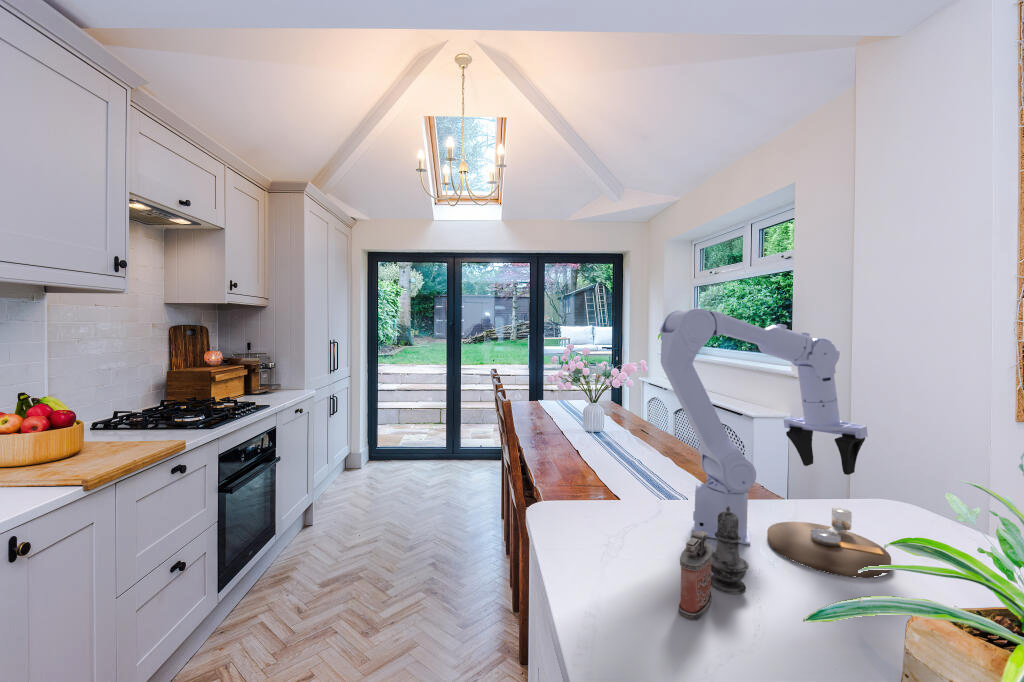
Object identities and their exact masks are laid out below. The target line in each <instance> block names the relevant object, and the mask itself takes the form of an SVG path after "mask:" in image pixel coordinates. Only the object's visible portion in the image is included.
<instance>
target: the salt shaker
mask: <svg viewBox="0 0 1024 682" xmlns="http://www.w3.org/2000/svg"><path fill="white" fill-rule="evenodd" d="M726 510H727V511H724V512H721V513H719V514H718V527H717V532H716V533H715V536H716V537H717V539H716V548H715V551H713V555H712V558H711V587H712V588H714V589H715V590H717V591H719V592H720V593H721V592H722V593H724V594H729V595H741V594H743V593H746V591H747V587H746V584H745V583H744V582H743V581H742V580H743V579H744V578H745V576H746V573H747V570H749V567H750V566H749V563H748V562H747V560H745V559H744V558H743V557H740V552H739V546H740V545H739V544H740V543H739V541H740V540H741V538H740V537H739V536H738V517H737V516H736V515H735V514H734V513H732V512H730V510H731V509H730V508H729V506H728V507H727V508H726Z"/></svg>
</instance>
